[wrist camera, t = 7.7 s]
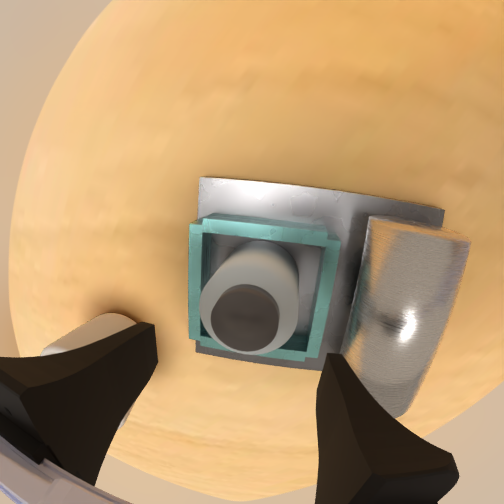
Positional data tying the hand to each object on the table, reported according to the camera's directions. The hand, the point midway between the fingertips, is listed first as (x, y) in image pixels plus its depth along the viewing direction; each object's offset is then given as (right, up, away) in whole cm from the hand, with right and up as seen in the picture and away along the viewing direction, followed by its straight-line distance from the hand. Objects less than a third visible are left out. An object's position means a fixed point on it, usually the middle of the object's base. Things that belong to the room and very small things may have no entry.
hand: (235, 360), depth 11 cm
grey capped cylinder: (+1, +3, +8) cm, 8 cm away
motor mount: (+5, +2, +8) cm, 10 cm away
